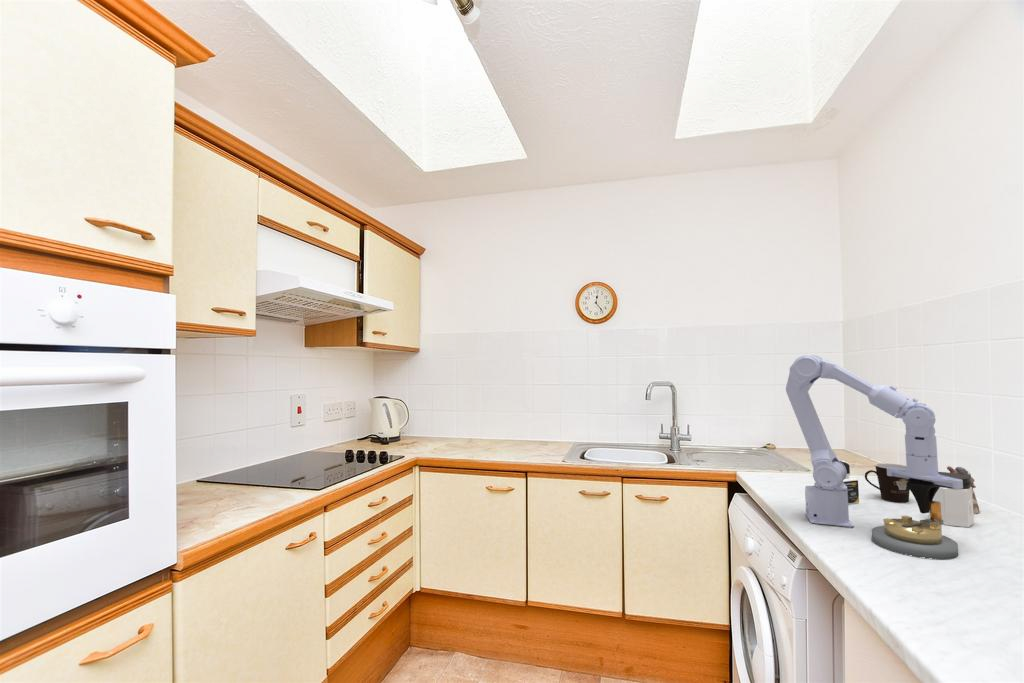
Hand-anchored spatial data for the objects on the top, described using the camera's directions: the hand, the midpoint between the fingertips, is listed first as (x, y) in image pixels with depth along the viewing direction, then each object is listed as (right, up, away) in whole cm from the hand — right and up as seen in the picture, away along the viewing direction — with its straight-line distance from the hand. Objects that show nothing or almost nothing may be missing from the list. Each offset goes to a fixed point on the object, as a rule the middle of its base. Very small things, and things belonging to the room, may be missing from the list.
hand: (924, 512), depth 112 cm
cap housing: (-7, -6, -5) cm, 10 cm away
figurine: (+28, -7, +20) cm, 34 cm away
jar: (+16, -6, +10) cm, 20 cm away
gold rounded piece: (-5, -4, -4) cm, 7 cm away
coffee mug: (+16, -7, +31) cm, 36 cm away
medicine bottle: (+1, -8, +30) cm, 31 cm away
